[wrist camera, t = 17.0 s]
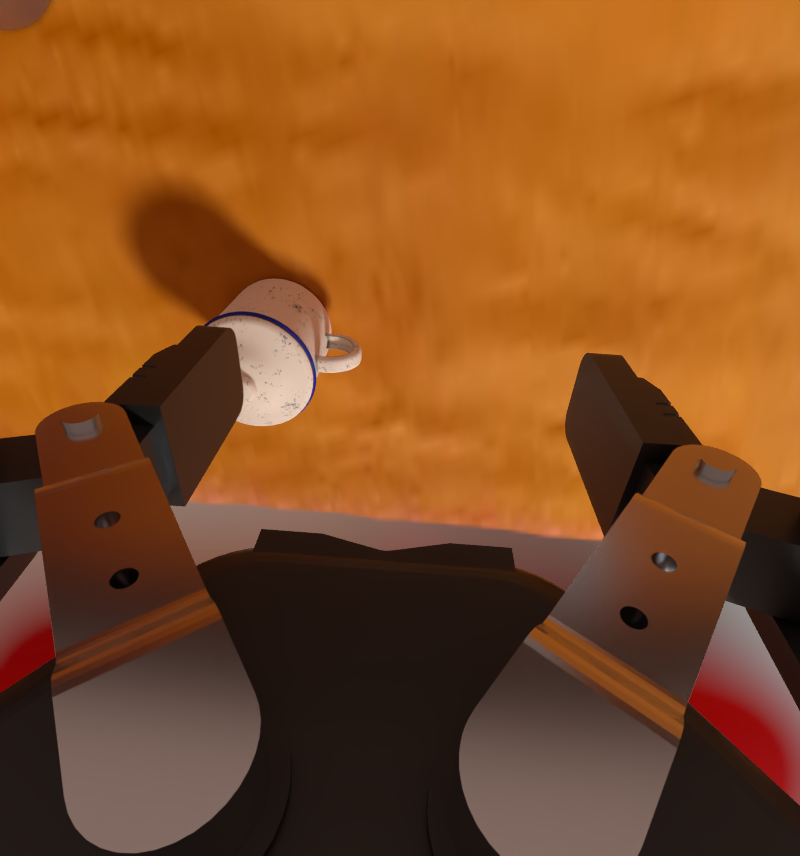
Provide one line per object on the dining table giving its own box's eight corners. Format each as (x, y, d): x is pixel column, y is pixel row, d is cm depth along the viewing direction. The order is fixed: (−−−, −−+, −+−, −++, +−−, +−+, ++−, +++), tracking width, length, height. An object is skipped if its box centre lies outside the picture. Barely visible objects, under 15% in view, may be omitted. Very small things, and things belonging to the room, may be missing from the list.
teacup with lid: (239, 371, 46) (188, 446, 37) (221, 272, 41) (155, 328, 32) (370, 376, 46) (352, 452, 36) (367, 276, 41) (345, 334, 31)
